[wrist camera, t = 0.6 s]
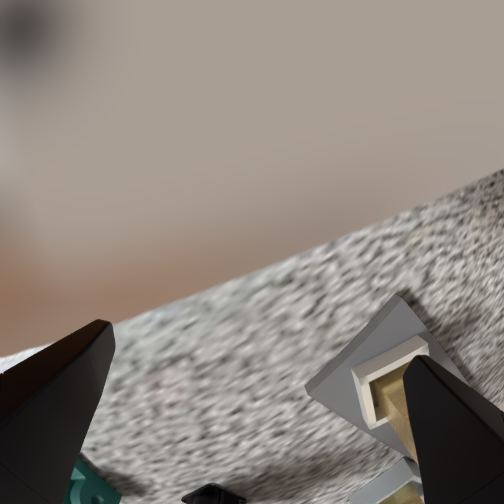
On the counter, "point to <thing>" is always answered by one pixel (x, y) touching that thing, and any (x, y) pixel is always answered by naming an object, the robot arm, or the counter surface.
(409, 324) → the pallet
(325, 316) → the counter surface
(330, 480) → the counter surface
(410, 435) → the block
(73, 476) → the bracket
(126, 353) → the counter surface
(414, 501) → the block
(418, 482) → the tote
